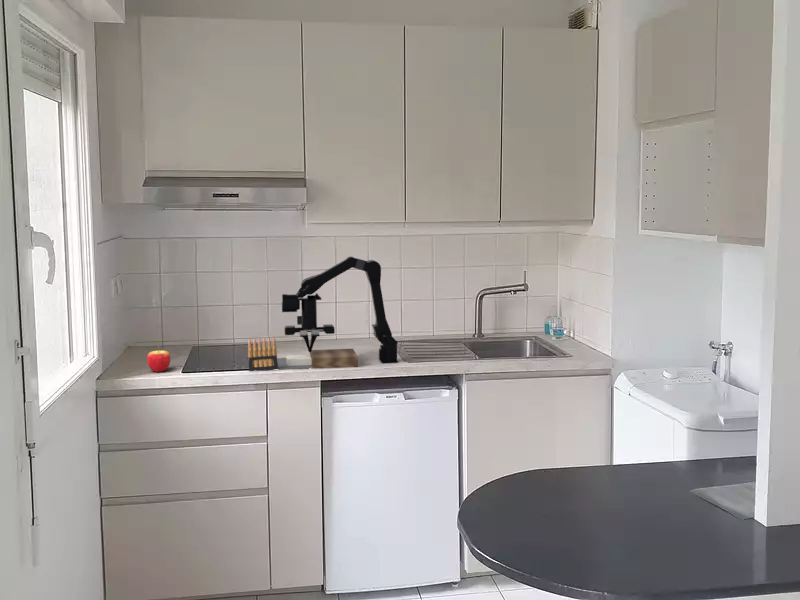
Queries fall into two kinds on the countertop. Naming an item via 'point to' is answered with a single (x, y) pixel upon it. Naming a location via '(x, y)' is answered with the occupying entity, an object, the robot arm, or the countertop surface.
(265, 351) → the ammunition clip
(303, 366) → the mat
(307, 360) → the tile
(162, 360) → the apple
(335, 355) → the brown flat block
